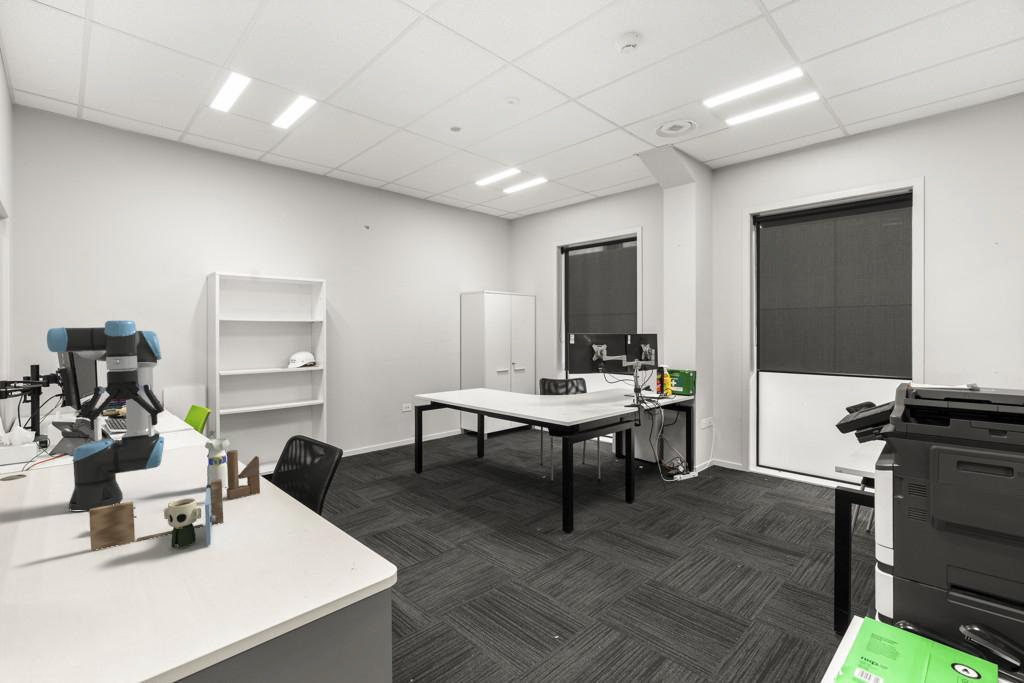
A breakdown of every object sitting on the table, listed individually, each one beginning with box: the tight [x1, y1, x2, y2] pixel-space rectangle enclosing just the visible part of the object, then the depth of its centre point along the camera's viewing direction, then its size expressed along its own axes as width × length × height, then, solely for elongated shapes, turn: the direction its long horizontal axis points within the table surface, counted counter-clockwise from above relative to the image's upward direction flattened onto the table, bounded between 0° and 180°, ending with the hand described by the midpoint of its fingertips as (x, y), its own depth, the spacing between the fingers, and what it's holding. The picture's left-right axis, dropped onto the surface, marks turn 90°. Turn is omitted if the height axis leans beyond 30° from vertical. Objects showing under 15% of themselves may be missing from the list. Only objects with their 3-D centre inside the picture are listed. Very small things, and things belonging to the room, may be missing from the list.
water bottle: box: [204, 428, 230, 489], centre depth 196 cm, size 8×9×25 cm
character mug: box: [163, 497, 202, 549], centre depth 143 cm, size 11×7×13 cm, turn 90°
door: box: [204, 488, 215, 546], centre depth 150 cm, size 18×2×12 cm, turn 31°
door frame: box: [88, 479, 224, 551], centre depth 151 cm, size 33×2×14 cm, turn 126°
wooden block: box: [226, 449, 261, 500], centre depth 186 cm, size 4×11×18 cm, turn 134°
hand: (125, 437), depth 151 cm, fingers open, 13 cm apart
